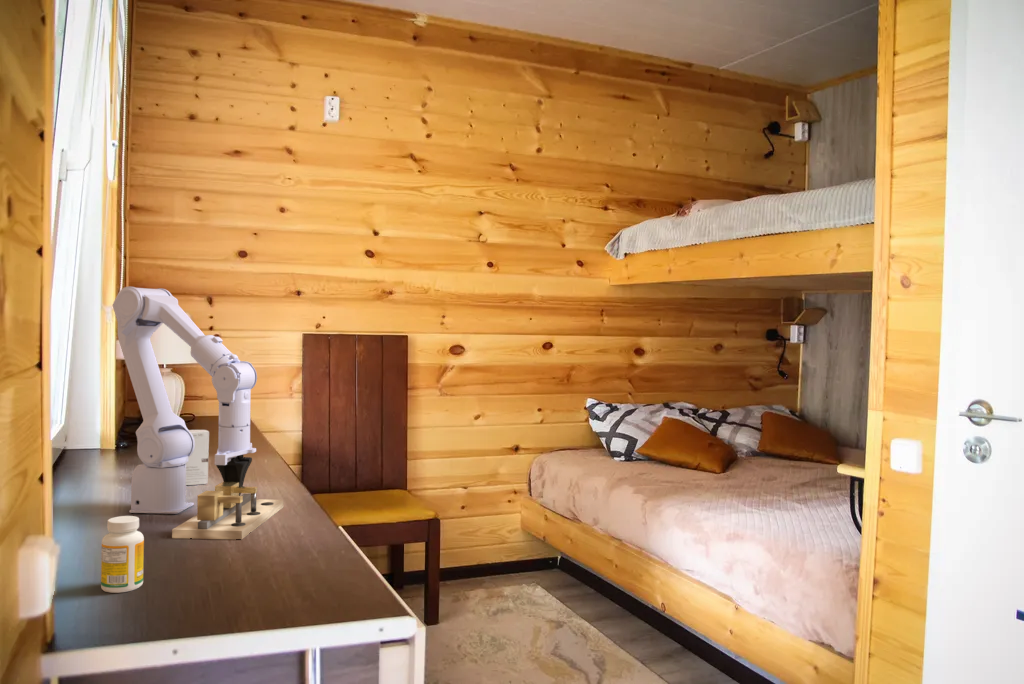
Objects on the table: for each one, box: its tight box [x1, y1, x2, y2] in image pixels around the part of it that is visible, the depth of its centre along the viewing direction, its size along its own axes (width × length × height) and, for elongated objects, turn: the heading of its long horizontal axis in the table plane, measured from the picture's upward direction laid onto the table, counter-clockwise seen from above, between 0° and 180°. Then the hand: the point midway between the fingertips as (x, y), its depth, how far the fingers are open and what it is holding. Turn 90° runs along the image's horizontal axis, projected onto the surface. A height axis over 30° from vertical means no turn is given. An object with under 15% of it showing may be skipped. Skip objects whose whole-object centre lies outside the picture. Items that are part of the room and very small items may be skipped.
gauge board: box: [171, 490, 284, 540], centre depth 149 cm, size 12×24×7 cm, turn 179°
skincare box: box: [186, 429, 210, 486], centre depth 182 cm, size 6×4×12 cm
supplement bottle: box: [100, 515, 145, 594], centre depth 112 cm, size 5×5×10 cm
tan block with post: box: [214, 481, 258, 512], centre depth 149 cm, size 7×4×5 cm, turn 89°
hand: (233, 496), depth 152 cm, fingers closed
